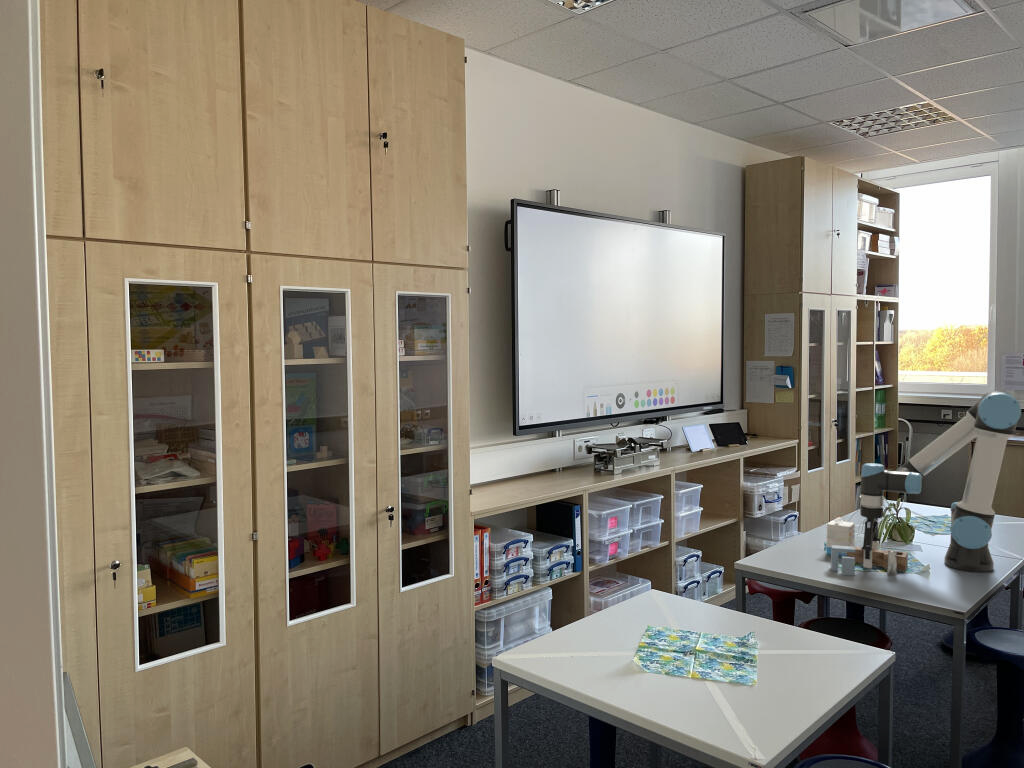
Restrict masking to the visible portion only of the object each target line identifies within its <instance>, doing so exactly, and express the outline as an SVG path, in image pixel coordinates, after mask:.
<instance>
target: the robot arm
mask: <svg viewBox="0 0 1024 768" xmlns="http://www.w3.org/2000/svg"><path fill="white" fill-rule="evenodd" d="M1021 415H1022V407H1021V404H1020V402H1019V401H1018V400H1017V398H1015V396H1013V395H1012V394H1010V393H1008V392H1007V391H1004V390H991V391H988V392H987V393H985V394H983V395H982V396H981V397H980V399H978V401H977V402H976V403H974V405H972V406H971V407H970V408H969V409H967V411H966V415H965V416H964V417H962V418H961V419H960V420H959V421H957V422H956V423H955V424H954V425H952V426H951V427H949V428H948V429H947V430H946V431H944V432H943V433H942V434H941V435H939V436H938V437H936V439H935V440H933V441H931V442H930V443H929V444H928V445H926V446H925V447H924V448H923V449H921V450H920V451H919V452H917V453H916V454H915V455H913V456H912V457H911V458H909V459H908V460H907V461H906V462H905V463H904V464H902V465H900V466H898V467H897V468H896V469H895V470H886V468H885V466H884V465H883V464H881V463H874V462H872V463H870V462H869V463H868V462H867V463H864V464H863V465H861V474H860V495H859V496H858V498H859V499H860V510H859V511H860V512H859V513H860V516H861V517H863V518H866V520H865V522H864V532H863V533H864V534H863V544H862V546H861V547H862V548H861V549H862V550H864V560H863V563H862V564H863V565H862V566H863V568H865V569H866V568H867V569H873V565H872V549H877V550H879V548H878V547H879V544H878V543H879V542H880V541H881V538H880V537H879V535H880V534H879V519H882V518H883V517H884V508H883V507H884V504H885V503H884V499H885V497H884V492H894V493H901V494H909V495H913V494H915V495H919V494H920V493H921V492H922V478H924V477H925V476H926V475H928V474H929V473H930V472H931V471H933V470H934V469H935V468H937V467H938V466H939V465H941V464H942V463H943V462H944V461H946V460H947V459H949V458H950V457H951V456H952V455H954V454H955V453H957V452H958V451H959V450H961V449H962V448H963V447H964V446H967V444H969V443H970V442H971V441H972V440H974V439H975V443H974V449H973V454H972V457H971V462H970V465H969V466H970V467H969V470H968V474H967V478H966V479H967V480H966V482H965V488H964V491H963V496H962V500H959V501H955V502H952V503H951V508H950V529H949V530H950V543H949V546H948V548H947V551H946V553H945V555H944V564H945V566H947V567H950V568H952V569H953V568H954V569H957V570H960V571H966V572H967V571H968V572H974V573H975V572H976V573H978V572H979V573H984V572H985V573H987V572H991V571H993V570H994V566H995V565H994V564H995V563H994V561H993V560H994V559H993V557H992V554H991V552H990V549H989V542H990V541H991V539H992V536H993V533H992V532H993V531H992V529H993V524H994V521H995V517H996V512H995V510H994V509H993V508H992V506H993V502H994V501H993V500H994V497H995V492H996V488H997V484H998V480H999V476H1000V473H1001V467H1002V462H1003V459H1004V456H1005V450H1006V446H1007V443H1008V439H1010V438H1012V437H1013V436H1015V432H1016V428H1017V423H1018V422H1019V420H1020V418H1021Z"/></svg>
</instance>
